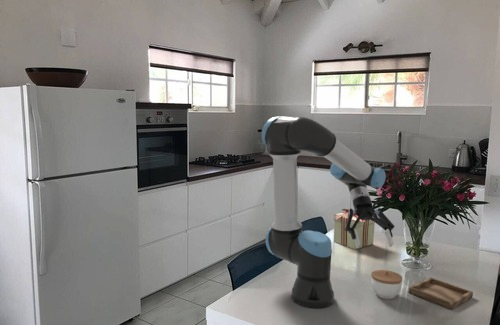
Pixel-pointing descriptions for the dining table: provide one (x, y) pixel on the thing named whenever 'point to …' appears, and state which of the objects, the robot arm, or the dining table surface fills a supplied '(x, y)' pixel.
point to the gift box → (363, 229)
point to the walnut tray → (441, 293)
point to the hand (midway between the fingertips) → (375, 246)
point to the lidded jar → (386, 283)
